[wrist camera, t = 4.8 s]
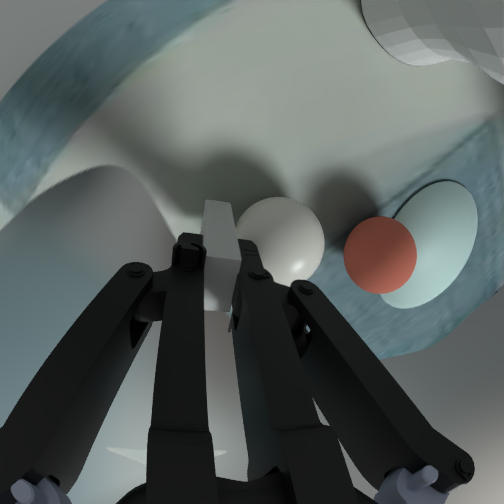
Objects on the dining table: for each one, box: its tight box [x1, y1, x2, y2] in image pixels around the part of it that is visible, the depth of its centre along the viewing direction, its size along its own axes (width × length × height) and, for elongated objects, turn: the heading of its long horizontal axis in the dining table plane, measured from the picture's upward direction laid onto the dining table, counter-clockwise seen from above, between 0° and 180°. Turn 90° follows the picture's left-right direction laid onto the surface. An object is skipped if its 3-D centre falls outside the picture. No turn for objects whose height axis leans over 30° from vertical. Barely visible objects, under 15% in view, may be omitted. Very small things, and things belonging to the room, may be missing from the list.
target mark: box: [380, 181, 477, 308], centre depth 23 cm, size 14×14×1 cm
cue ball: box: [235, 197, 324, 287], centre depth 17 cm, size 6×6×6 cm
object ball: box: [344, 216, 417, 294], centre depth 19 cm, size 6×6×6 cm
